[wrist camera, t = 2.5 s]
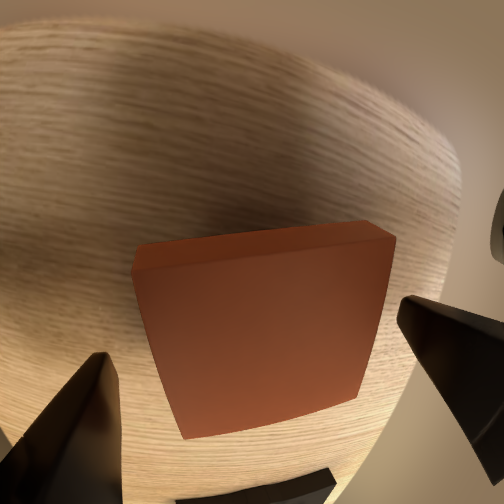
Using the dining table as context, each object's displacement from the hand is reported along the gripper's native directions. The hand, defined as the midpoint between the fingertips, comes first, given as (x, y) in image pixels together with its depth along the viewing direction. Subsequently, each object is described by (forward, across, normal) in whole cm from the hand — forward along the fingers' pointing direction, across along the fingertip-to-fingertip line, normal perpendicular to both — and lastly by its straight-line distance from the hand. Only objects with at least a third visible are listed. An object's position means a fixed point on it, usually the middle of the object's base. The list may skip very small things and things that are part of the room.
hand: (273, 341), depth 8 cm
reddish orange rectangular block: (+3, 0, 0) cm, 3 cm away
